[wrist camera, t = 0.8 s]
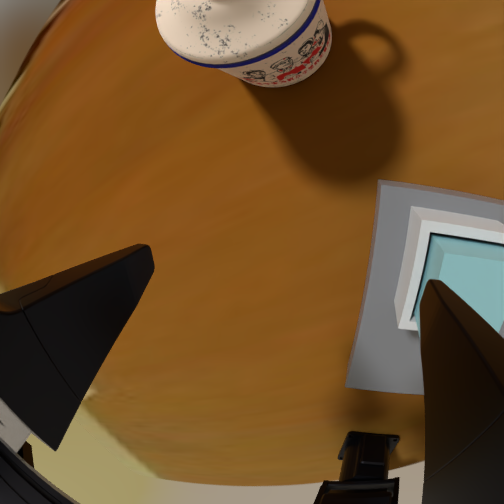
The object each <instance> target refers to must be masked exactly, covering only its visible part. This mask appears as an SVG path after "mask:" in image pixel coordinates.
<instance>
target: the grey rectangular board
mask: <svg viewBox="0 0 504 504" xmlns="http://www.w3.org/2000/svg"><path fill="white" fill-rule="evenodd" d="M431 234H434V235H440V236H447V237H454V238H460V239H467V240H473V241H479V242H485V243H491V244H497V245H502V246H503V247H504V201H503V200H499V199H494V198H490V197H485V196H480V195H475V194H470V193H465V192H460V191H454V190H449V189H443V188H437V187H431V186H424V185H418V184H411V183H404V182H397V181H389V180H381V179H378V186H377V198H376V208H375V217H374V226H373V234H372V242H371V249H370V256H369V263H368V270H367V276H366V282H365V287H364V293H363V298H362V304H361V309H360V314H359V319H358V324H357V328H356V333H355V337H354V342H353V346H352V350H351V355H350V359H349V363H348V368H347V376H346V383H345V387H348V388H355V389H363V390H372V391H381V392H392V393H404V394H418V395H424V386H423V373H422V363H421V352H420V337H419V332H418V328H417V323H416V319H415V315H414V309H415V305H416V302H417V298H418V294H419V290H420V286H421V282H422V278H423V273H424V269H425V264H426V260H427V255H428V250H429V244H430V239H431ZM499 334H500V335H501V336H502V337H503V338H504V321H503V324H502V326H501V328H500V331H499Z"/></svg>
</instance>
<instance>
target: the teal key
mask: <svg viewBox="0 0 504 504" xmlns="http://www.w3.org/2000/svg"><path fill="white" fill-rule="evenodd" d="M429 279H436V280H441V281H442V282H444V283H445V284H446V285H447V286H448V287H449V288H450V289H452V290H453V291H454V292H455V293H456V294H457V295H458V296H460V297H461V298H462V299H463V300H464V301H465V302H466V303H467V304H468V305H469V306H471V307H472V308H473V309H474V310H475V311H476V312H477V313H478V314H479V315H480V316H481V317H482V318H483V319H484V320H486V321H487V322H488V323H489V324H490V325H491V326H492V327H493V328H494V329H495V330H496V331H497V332H498V333H499V331H500V328H501V326H502V324H503V321H504V247H503V246H502V245H497V244H491V243H485V242H479V241H473V240H467V239H460V238H454V237H447V236H440V235H434V234H431V239H430V244H429V250H428V255H427V260H426V264H425V269H424V273H423V278H422V282H421V286H420V290H419V294H418V298H417V302H416V305H415V309H414V315H415V319H416V323H417V328H418V332H419V337H420V313H419V306H420V301H421V298H422V295H423V292H424V289H425V286H426V283H427V281H428V280H429Z"/></svg>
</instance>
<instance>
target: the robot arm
mask: <svg viewBox="0 0 504 504" xmlns="http://www.w3.org/2000/svg"><path fill="white" fill-rule="evenodd" d="M154 268H155V267H154V261H153V256H152V252H151V248H150V246H149V245H146V244H136V245H133V246H130V247H127V248H125V249H122V250H119V251H116V252H113V253H110V254H108V255H105V256H102V257H99V258H97V259H94V260H91V261H88V262H86V263H83V264H80V265H78V266H75V267H72V268H70V269H67V270H64V271H62V272H59V273H57V274H55V275H51V276H49V277H46V278H44V279H41V280H38V281H36V282H33V283H30V284H27V285H25V286H22V287H19V288H16V289H13V290H10V291H7V292H5V293H2V294H0V504H80V503H78V502H77V501H75V500H74V499H73V498H71V497H70V496H68V495H67V494H65V493H64V492H63V491H61V490H60V489H59V488H57V487H56V486H55V485H53V484H52V483H51V482H50V481H48V480H47V479H46V478H45V477H43V476H42V475H41V474H40V473H39V472H37V471H36V470H35V469H34V464H33V456H32V447H31V445H30V444H29V443H27V441H26V440H27V438H28V437H29V435H30V434H31V433H32V434H33V435H35V436H36V437H37V438H38V439H40V440H41V441H42V442H43V443H45V444H46V445H47V446H49V447H50V448H51V449H53V450H54V451H56V450H57V449H58V447H59V445H60V443H61V441H62V439H63V437H64V435H65V433H66V431H67V429H68V427H69V425H70V423H71V421H72V419H73V417H74V415H75V413H76V411H77V410H78V408H79V406H80V404H81V401H82V400H83V398H84V396H85V394H86V392H87V390H88V389H89V387H90V385H91V383H92V381H93V379H94V378H95V376H96V374H97V372H98V371H99V369H100V367H101V365H102V363H103V362H104V360H105V358H106V356H107V355H108V353H109V351H110V350H111V348H112V346H113V344H114V343H115V341H116V339H117V338H118V336H119V334H120V333H121V331H122V329H123V328H124V326H125V324H126V323H127V321H128V319H129V318H130V316H131V315H132V313H133V311H134V310H135V308H136V306H137V304H138V302H139V300H140V298H141V296H142V294H143V292H144V290H145V288H146V286H147V284H148V282H149V280H150V278H151V276H152V274H153V272H154ZM419 313H420V352H421V363H422V373H423V386H424V403H425V470H424V484H423V496H422V504H504V338H503V337H502V336H501V335H500V334H499V333H498V332H497V331H496V330H495V329H494V328H493V327H492V326H491V325H490V324H489V323H488V322H487V321H486V320H484V319H483V318H482V317H481V316H480V315H479V314H478V313H477V312H476V311H475V310H474V309H473V308H472V307H471V306H469V305H468V304H467V303H466V302H465V301H464V300H463V299H462V298H461V297H460V296H458V295H457V294H456V293H455V292H454V291H453V290H452V289H450V288H449V287H448V286H447V285H446V284H445V283H444V282H442V281H441V280H436V279H429V280H428V281H427V283H426V286H425V289H424V292H423V295H422V298H421V301H420V306H419ZM398 441H399V436H396V435H382V434H371V433H361V432H348V433H347V436H346V438H345V441H344V443H343V445H342V448H341V450H340V452H339V455H338V459H339V460H343V462H342V467H341V472H340V477H339V481H329V480H324V482H323V484H322V486H321V487H320V489H319V492H318V494H317V497H316V499H315V502H314V504H398V494H399V477H397V478H393V479H388V470H389V456H390V454H391V452H392V451H393V449H394V448H395V446H396V445H397V443H398Z"/></svg>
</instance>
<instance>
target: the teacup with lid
mask: <svg viewBox="0 0 504 504" xmlns="http://www.w3.org/2000/svg"><path fill="white" fill-rule="evenodd" d="M156 21H157V26H158V29H159V32H160V34H161V36H162V38H163V39H164V41H165V42H166V43H167V45H168V46H169V47H170V49H171V50H172V51H173V52H175V53H176V54H177V55H178V56H180V57H181V58H183V59H185V60H186V61H188V62H191V63H193V64H196V65H200V66H204V67H209V68H217V69H219V70H222V71H224V72H226V73H229V74H231V75H233V76H235V77H237V78H240V79H242V80H244V81H246V82H248V83H251V84H254V85H257V86H262V87H283V86H288V85H292V84H295V83H297V82H300V81H302V80H304V79H306V78H307V77H309V76H310V75H312V74H313V73H314V72H315V71H316V70H317V69H318V68H319V67H320V66H321V65H322V64H323V62H324V61H325V59H326V57H327V55H328V53H329V51H330V47H331V42H332V31H331V26H330V22H329V19H328V15H327V12H326V9H325V6H324V2H323V0H157V2H156Z"/></svg>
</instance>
